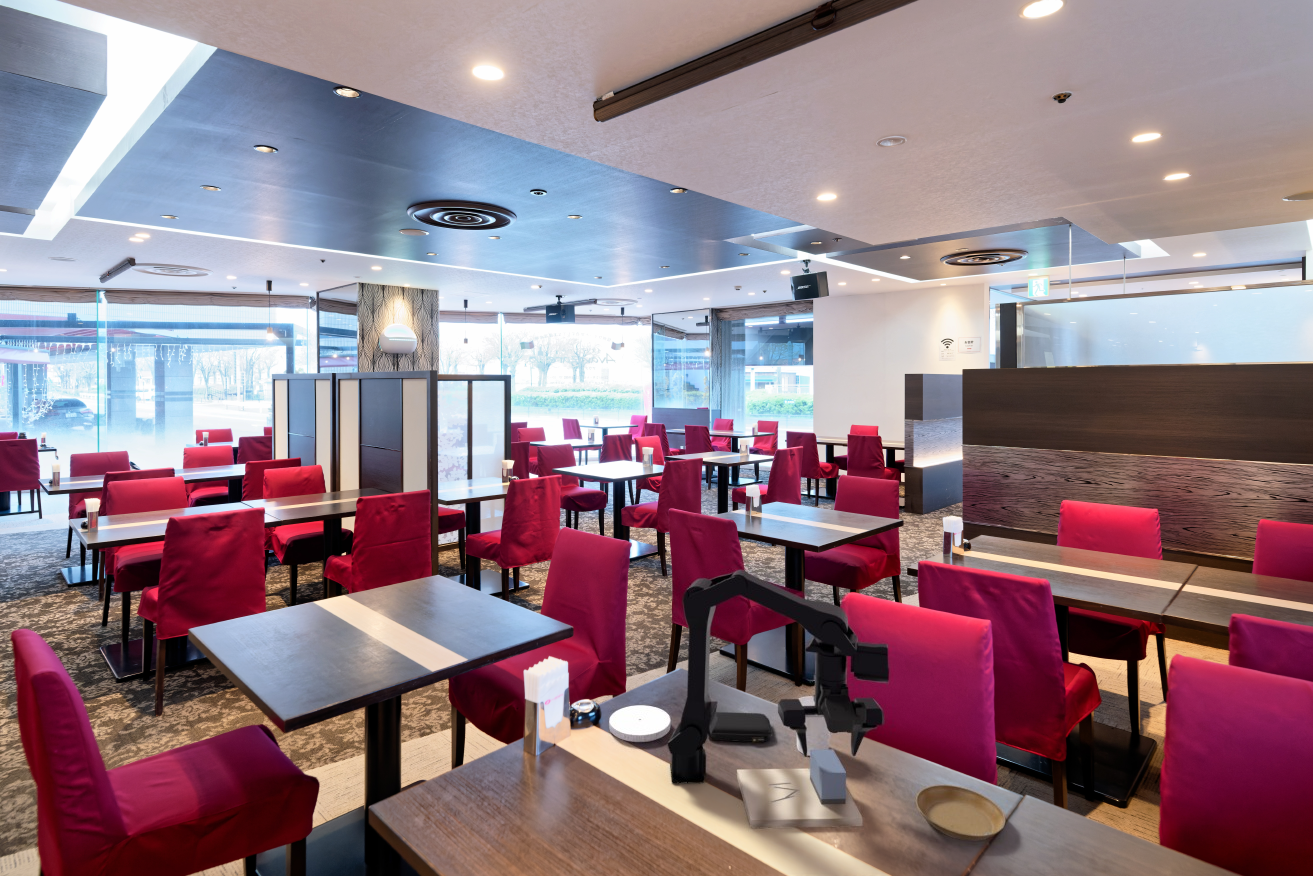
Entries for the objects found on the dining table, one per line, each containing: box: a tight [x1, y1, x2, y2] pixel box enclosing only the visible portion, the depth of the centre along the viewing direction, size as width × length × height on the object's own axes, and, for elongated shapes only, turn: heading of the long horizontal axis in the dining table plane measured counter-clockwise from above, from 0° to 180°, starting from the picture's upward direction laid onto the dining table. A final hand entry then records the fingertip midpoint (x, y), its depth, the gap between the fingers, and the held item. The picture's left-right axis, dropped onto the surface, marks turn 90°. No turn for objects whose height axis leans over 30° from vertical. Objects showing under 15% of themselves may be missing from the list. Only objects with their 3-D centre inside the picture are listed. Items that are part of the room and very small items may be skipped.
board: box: [736, 767, 863, 829], centre depth 129 cm, size 20×16×2 cm
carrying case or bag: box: [708, 711, 773, 743], centre depth 154 cm, size 11×3×15 cm
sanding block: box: [809, 748, 847, 804], centre depth 129 cm, size 4×8×6 cm, turn 2°
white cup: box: [795, 695, 832, 757], centre depth 146 cm, size 8×8×10 cm
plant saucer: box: [915, 784, 1006, 842], centre depth 122 cm, size 15×15×3 cm
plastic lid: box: [608, 704, 672, 743], centre depth 155 cm, size 14×14×2 cm
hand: (829, 755), depth 128 cm, fingers open, 9 cm apart
